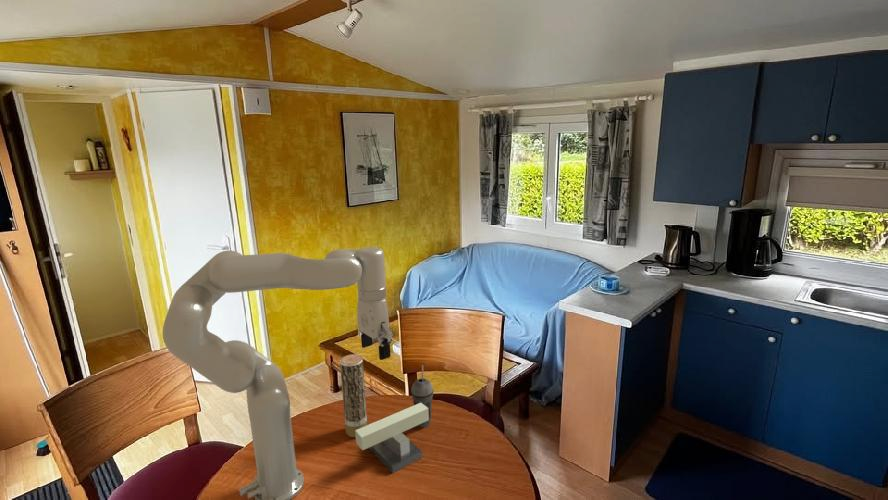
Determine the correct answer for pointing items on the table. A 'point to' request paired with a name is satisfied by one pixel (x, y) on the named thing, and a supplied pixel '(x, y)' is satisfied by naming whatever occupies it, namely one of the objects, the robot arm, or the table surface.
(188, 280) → the robot arm
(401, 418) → the batten
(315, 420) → the table surface
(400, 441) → the ridge stand
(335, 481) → the table surface
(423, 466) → the table surface
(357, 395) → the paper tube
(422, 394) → the beverage cup
